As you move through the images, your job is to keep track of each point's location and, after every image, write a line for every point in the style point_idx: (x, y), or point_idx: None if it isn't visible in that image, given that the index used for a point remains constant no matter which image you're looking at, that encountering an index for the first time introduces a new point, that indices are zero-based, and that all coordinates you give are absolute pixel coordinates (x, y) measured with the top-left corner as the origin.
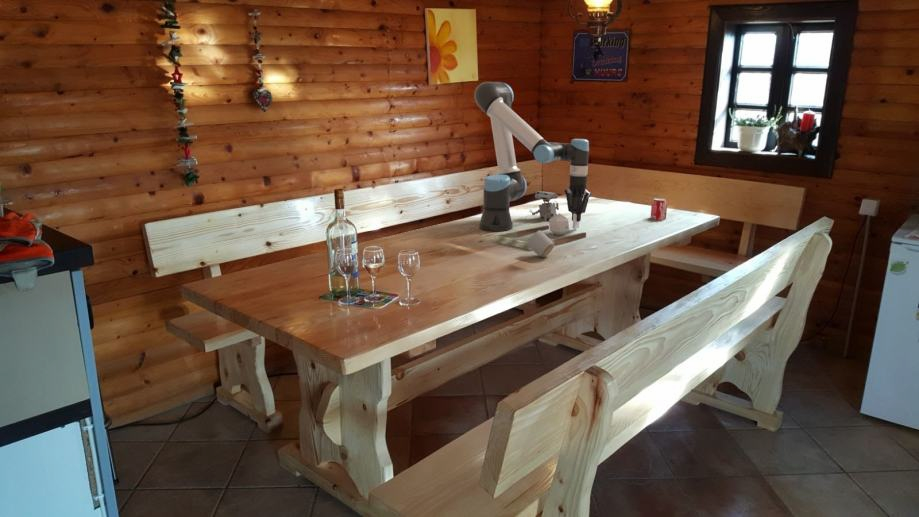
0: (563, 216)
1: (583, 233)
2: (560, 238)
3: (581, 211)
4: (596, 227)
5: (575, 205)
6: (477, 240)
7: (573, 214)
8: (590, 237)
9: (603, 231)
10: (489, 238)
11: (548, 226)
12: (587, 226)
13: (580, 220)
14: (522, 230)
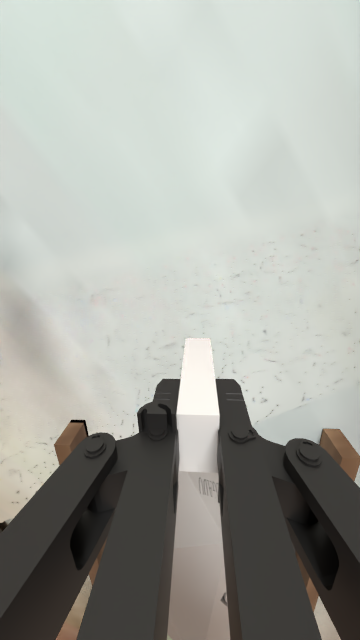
0: (227, 620)
1: (353, 477)
2: (316, 599)
3: (313, 525)
4: (185, 27)
5: (166, 590)
6: (77, 632)
7: (181, 465)
8: (348, 393)
9: (332, 149)
10: (73, 608)
11: (73, 447)
12: (103, 69)
13: (238, 384)
14: (94, 578)
